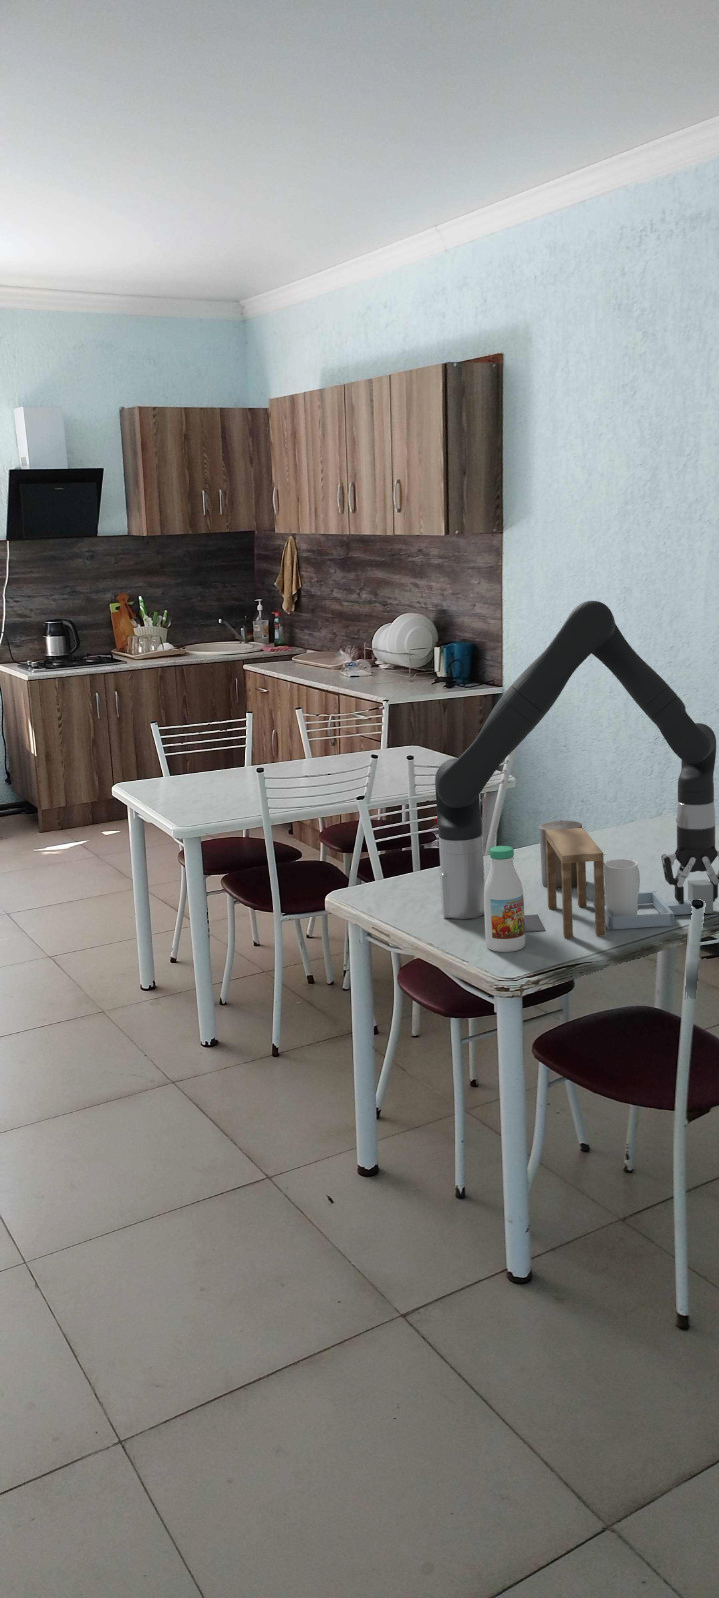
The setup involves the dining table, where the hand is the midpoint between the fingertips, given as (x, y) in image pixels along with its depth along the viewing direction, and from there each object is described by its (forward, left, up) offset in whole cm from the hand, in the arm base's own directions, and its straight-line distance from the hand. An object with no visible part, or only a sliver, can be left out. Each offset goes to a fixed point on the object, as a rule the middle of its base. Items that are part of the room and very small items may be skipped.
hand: (696, 901), depth 240 cm
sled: (-8, 0, -2) cm, 9 cm away
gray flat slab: (-35, 0, -2) cm, 35 cm away
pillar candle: (-23, +26, -3) cm, 35 cm away
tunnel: (-25, 0, -2) cm, 25 cm away
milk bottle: (-41, -12, -3) cm, 43 cm away
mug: (-15, 0, -3) cm, 15 cm away
